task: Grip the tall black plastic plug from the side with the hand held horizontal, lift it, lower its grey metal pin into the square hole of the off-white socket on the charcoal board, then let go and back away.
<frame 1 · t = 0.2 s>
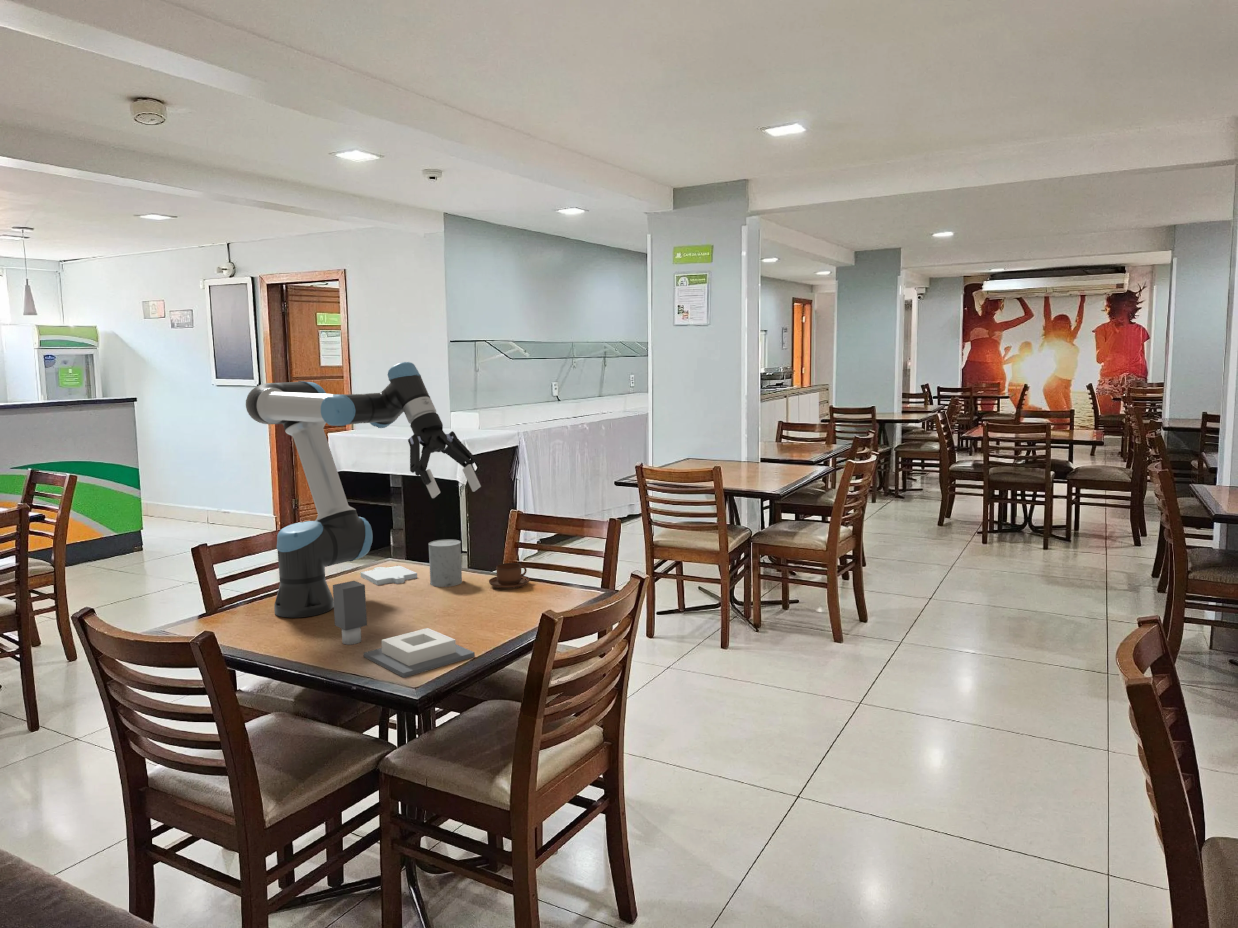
hand: (457, 492, 211), 34 cm above the table, tool tilted 35°, fingers open, 13 cm apart
socket: (419, 656, 195), on the table
grey cylinder: (446, 583, 259), on the table
cup and saucer: (509, 586, 254), on the table
mounting plate: (389, 579, 266), on the table
plug: (351, 641, 206), on the table
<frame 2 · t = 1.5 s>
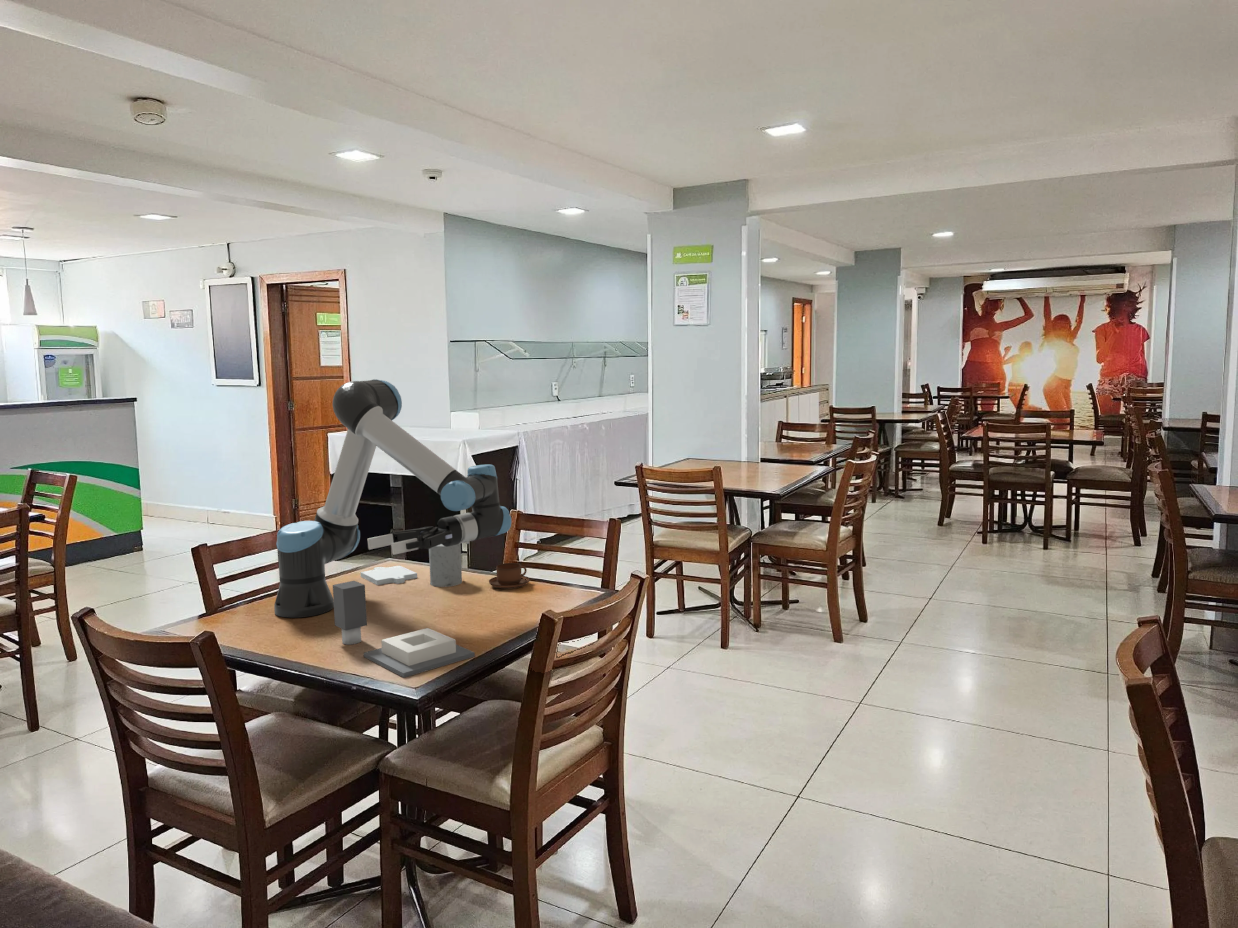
hand: (380, 546, 210), 22 cm above the table, tool horizontal, fingers open, 13 cm apart
nothing on the table moved.
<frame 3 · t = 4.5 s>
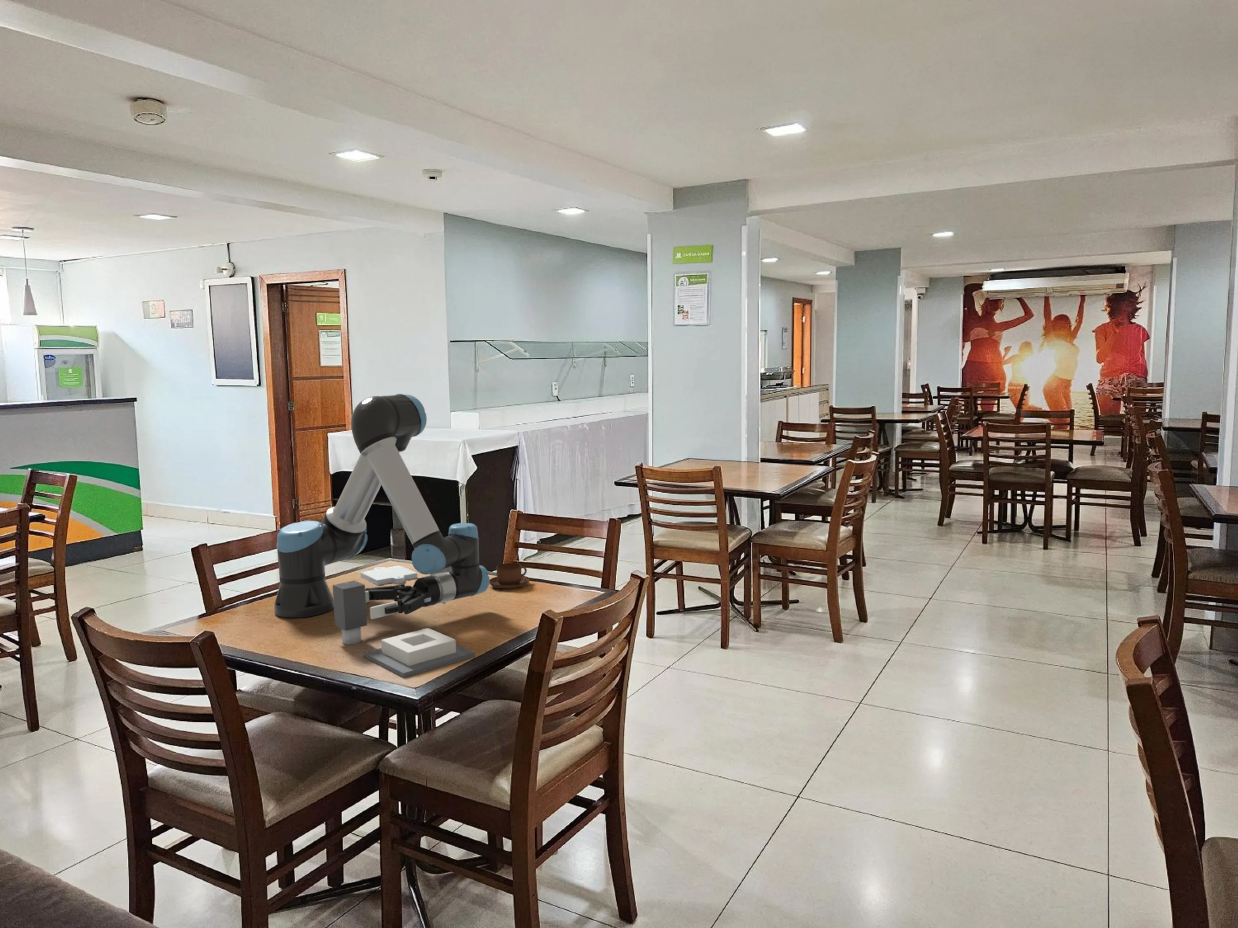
hand: (356, 607, 206), 8 cm above the table, tool horizontal, fingers open, 13 cm apart
nothing on the table moved.
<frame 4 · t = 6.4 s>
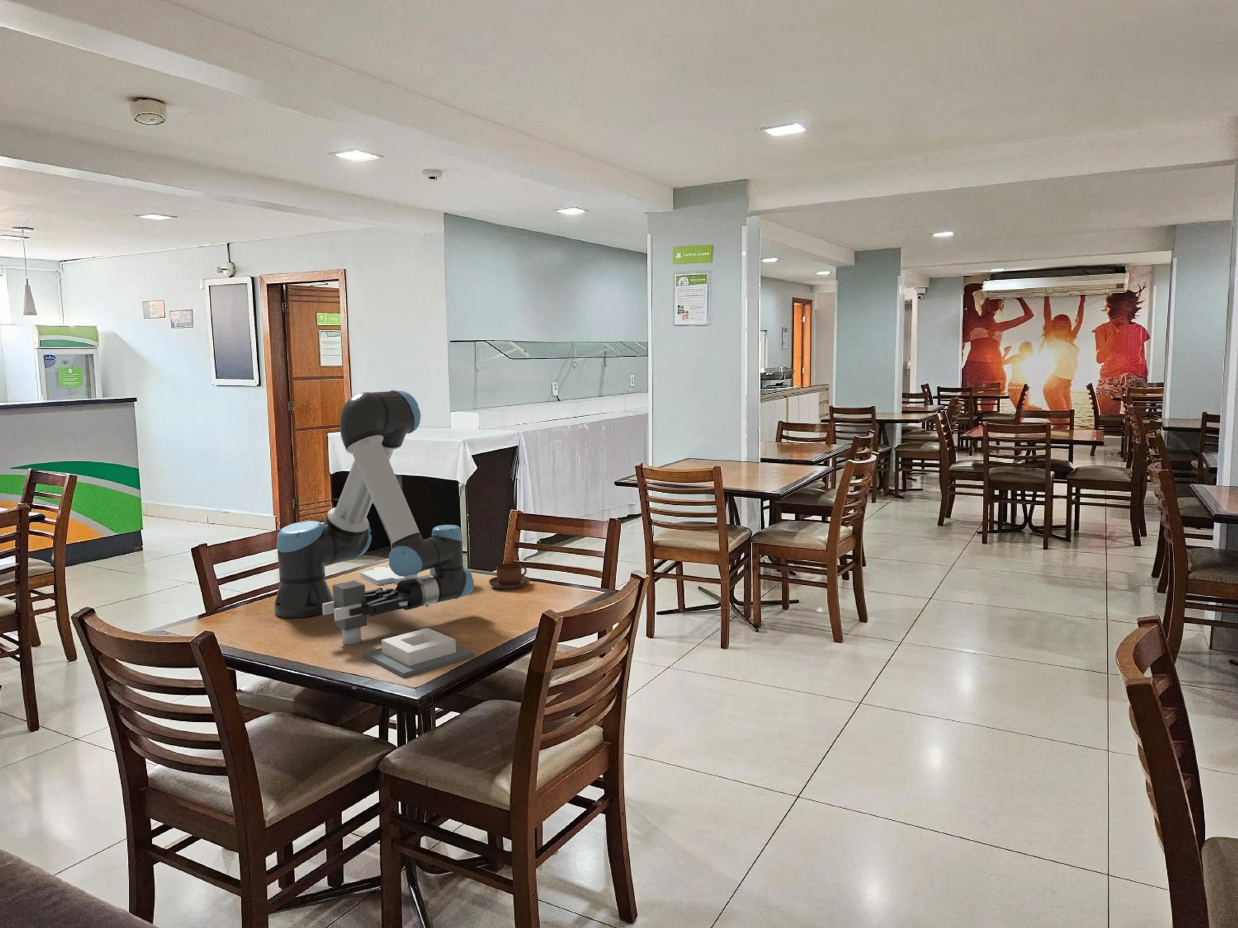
hand: (329, 612, 202), 8 cm above the table, tool horizontal, fingers closed on plug, 5 cm apart
plug: (351, 641, 206), on the table, touching gripper
everything else where it was.
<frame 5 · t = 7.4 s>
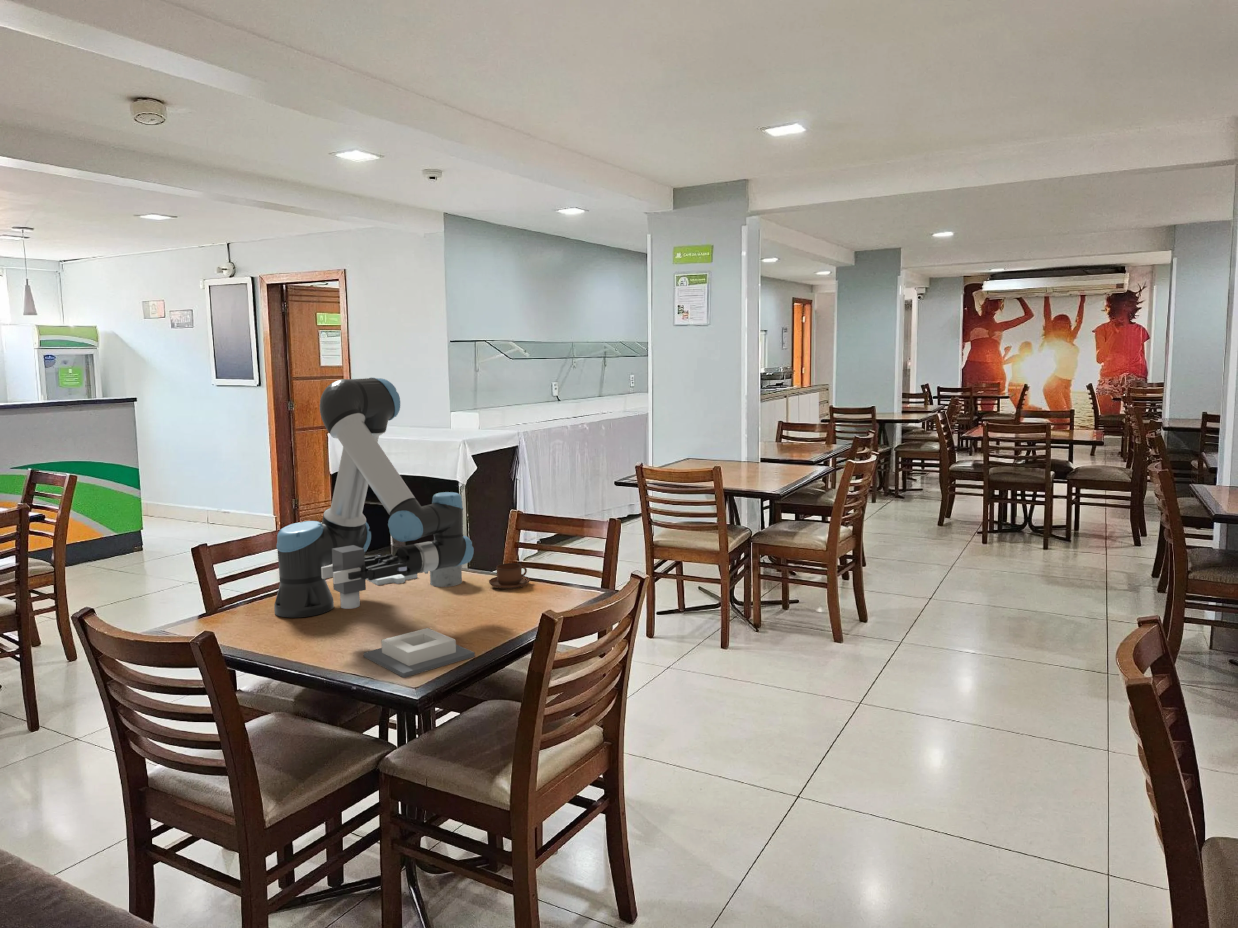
hand: (328, 575, 200), 17 cm above the table, tool horizontal, fingers closed on plug, 5 cm apart
plug: (350, 605, 205), point 9 cm above the table, touching gripper
everything else where it was.
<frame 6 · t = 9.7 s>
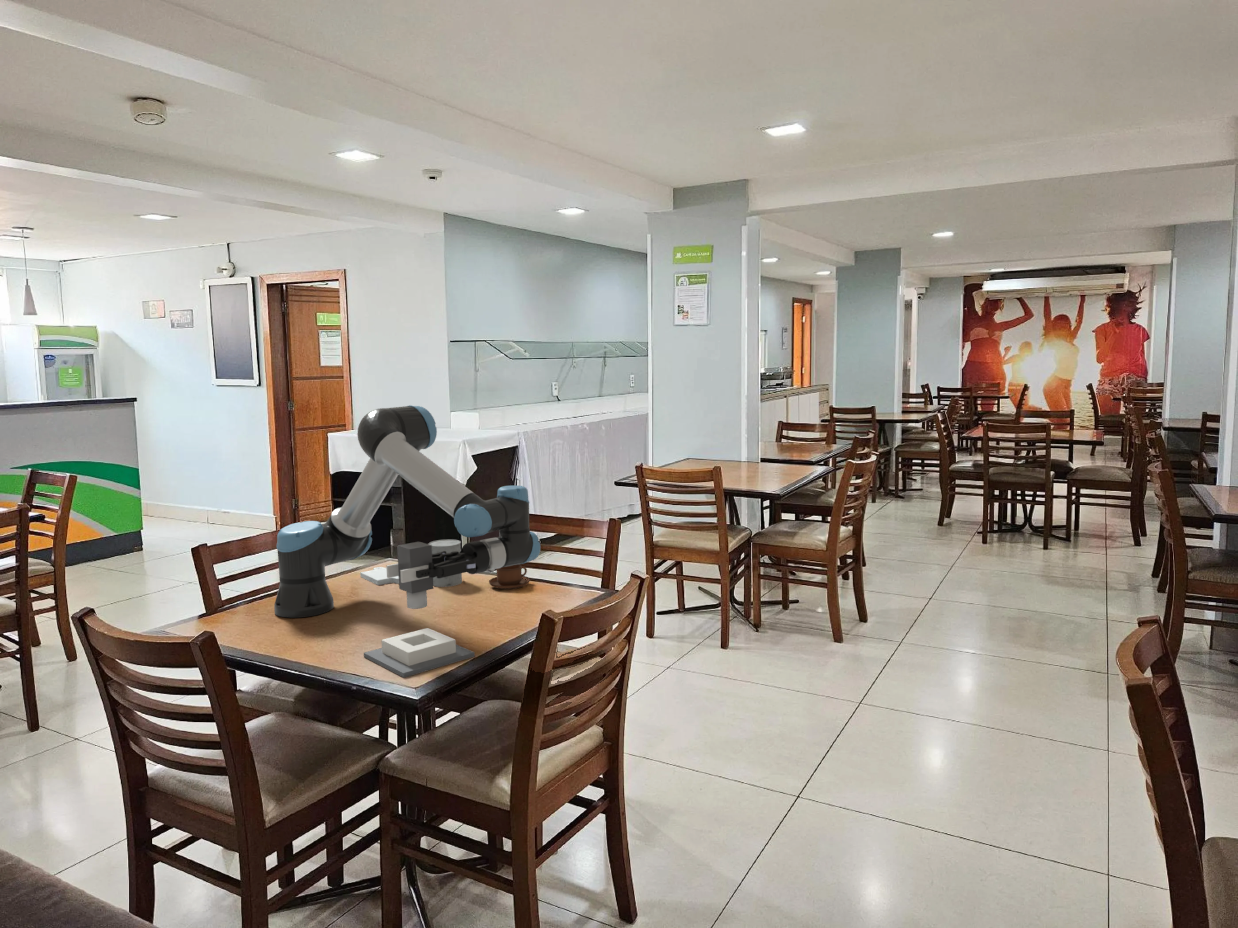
hand: (394, 574, 189), 20 cm above the table, tool horizontal, fingers closed on plug, 5 cm apart
plug: (417, 605, 193), point 12 cm above the table, touching gripper
everything else where it was.
when the fingers open (11 cm above the table, at t = 12.0 s): plug drops 1 cm, resting on socket.
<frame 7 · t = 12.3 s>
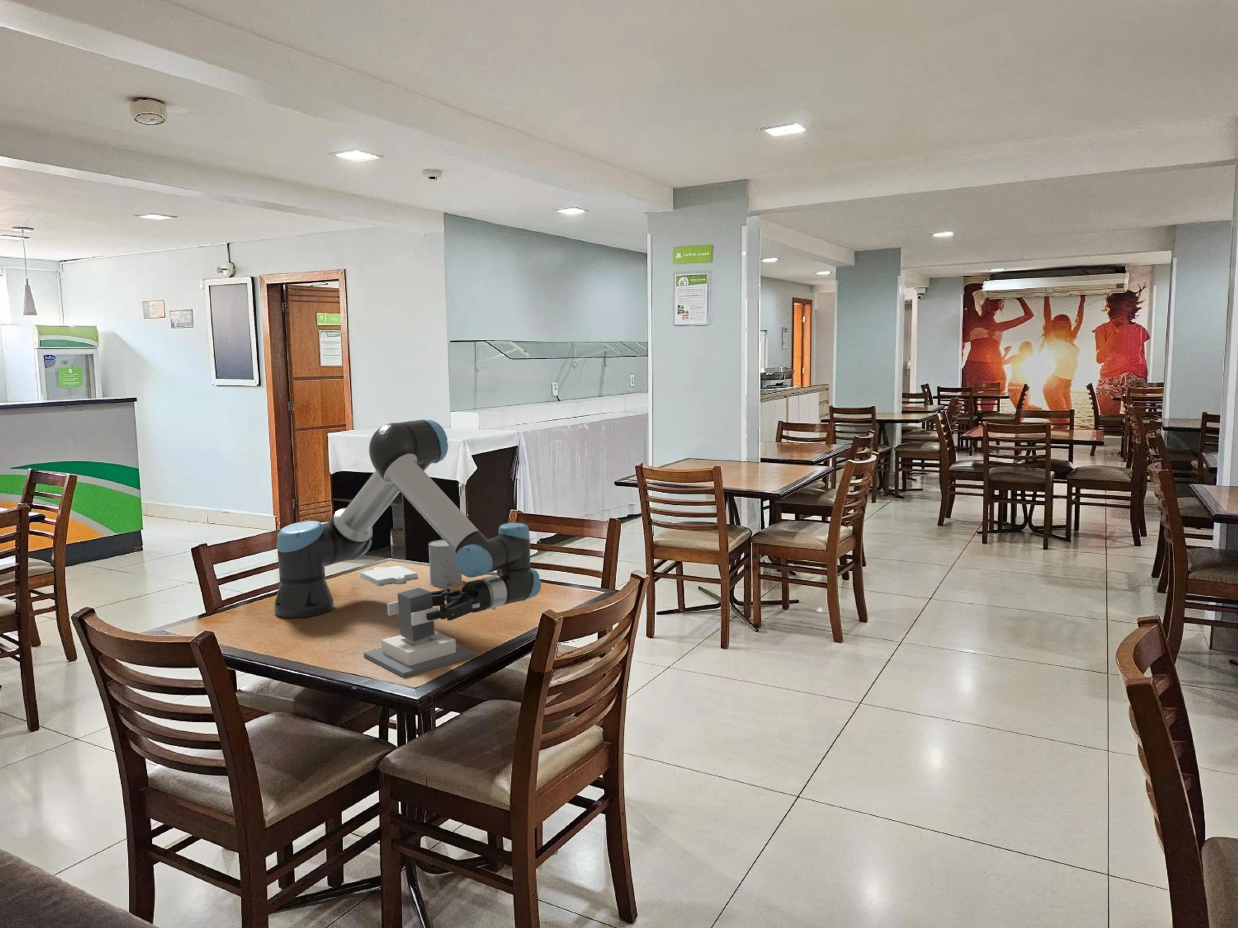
hand: (399, 614, 191), 11 cm above the table, tool horizontal, fingers open, 10 cm apart
plug: (419, 651, 195), point 1 cm above the table, touching socket
everything else where it was.
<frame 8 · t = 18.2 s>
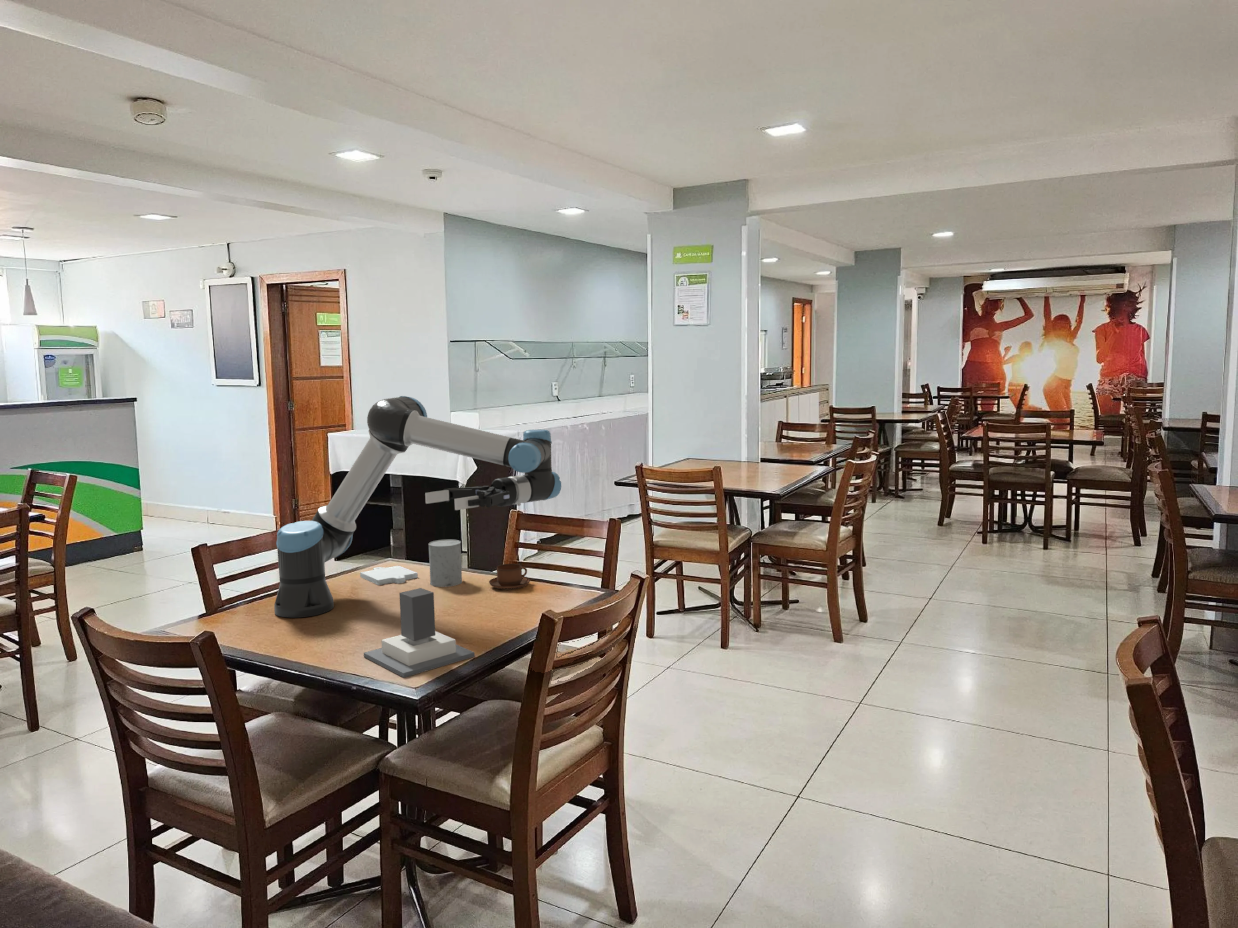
hand: (440, 501, 213), 32 cm above the table, tool horizontal, fingers open, 13 cm apart
nothing on the table moved.
at the end: plug 0.1 cm off-centre on the socket, point 1.0 cm above the socket's base; plug tilted 0°; the gripper is holding nothing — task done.
